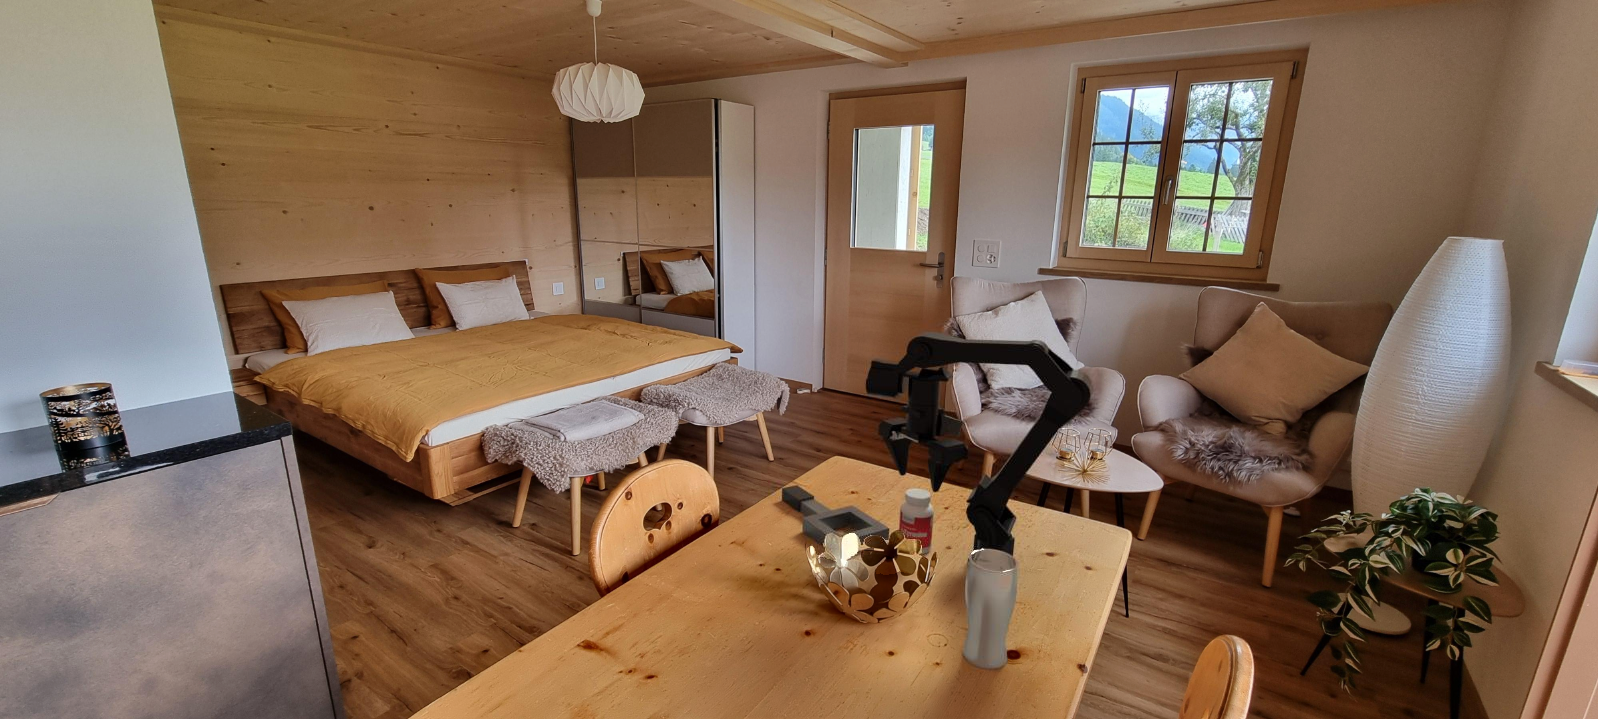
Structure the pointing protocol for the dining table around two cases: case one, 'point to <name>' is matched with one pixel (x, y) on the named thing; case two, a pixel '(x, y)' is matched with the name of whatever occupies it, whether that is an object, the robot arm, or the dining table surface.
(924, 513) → the pill bottle
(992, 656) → the beer glass
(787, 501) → the socket
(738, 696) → the dining table surface
